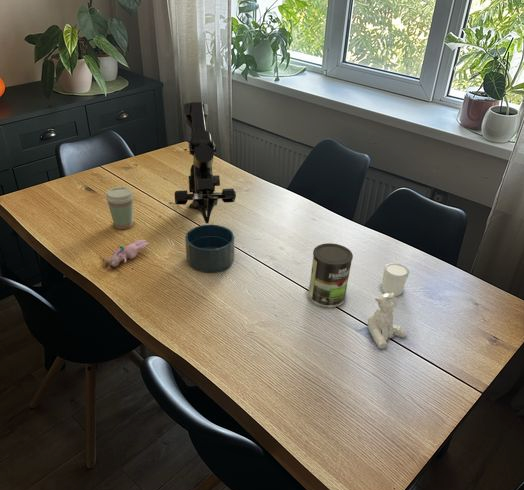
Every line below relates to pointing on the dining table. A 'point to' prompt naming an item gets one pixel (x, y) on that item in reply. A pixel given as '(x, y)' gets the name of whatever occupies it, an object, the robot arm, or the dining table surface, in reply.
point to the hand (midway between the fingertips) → (207, 223)
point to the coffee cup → (121, 206)
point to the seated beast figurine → (384, 321)
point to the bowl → (210, 248)
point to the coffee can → (329, 274)
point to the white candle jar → (394, 278)
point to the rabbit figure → (125, 253)
